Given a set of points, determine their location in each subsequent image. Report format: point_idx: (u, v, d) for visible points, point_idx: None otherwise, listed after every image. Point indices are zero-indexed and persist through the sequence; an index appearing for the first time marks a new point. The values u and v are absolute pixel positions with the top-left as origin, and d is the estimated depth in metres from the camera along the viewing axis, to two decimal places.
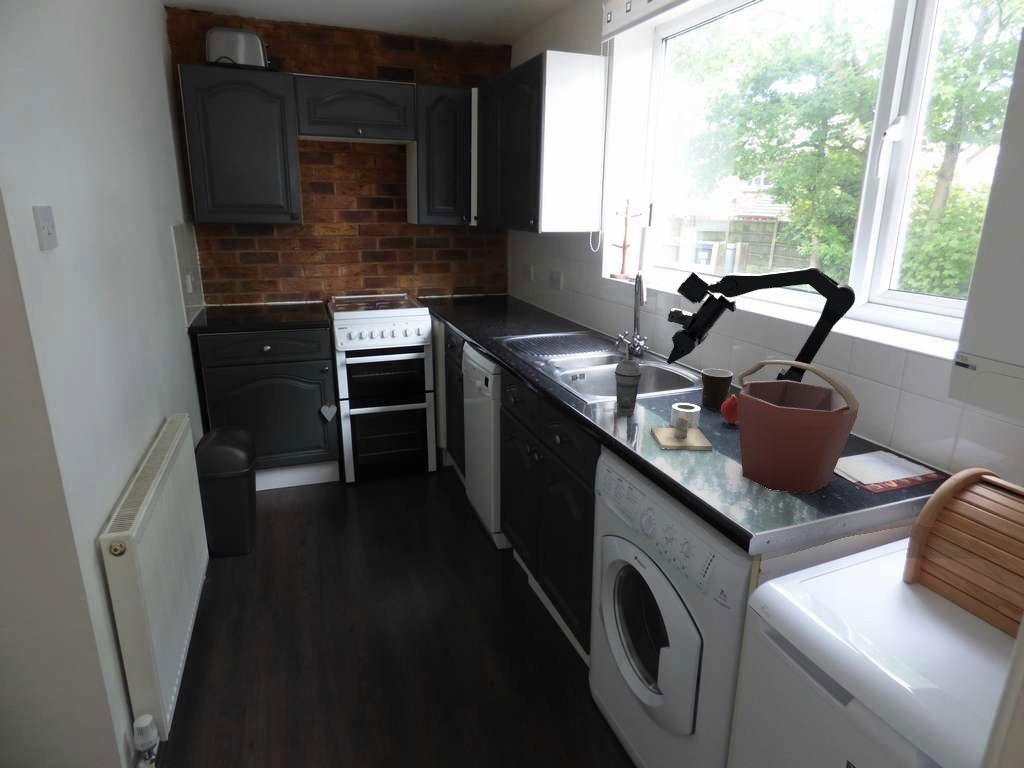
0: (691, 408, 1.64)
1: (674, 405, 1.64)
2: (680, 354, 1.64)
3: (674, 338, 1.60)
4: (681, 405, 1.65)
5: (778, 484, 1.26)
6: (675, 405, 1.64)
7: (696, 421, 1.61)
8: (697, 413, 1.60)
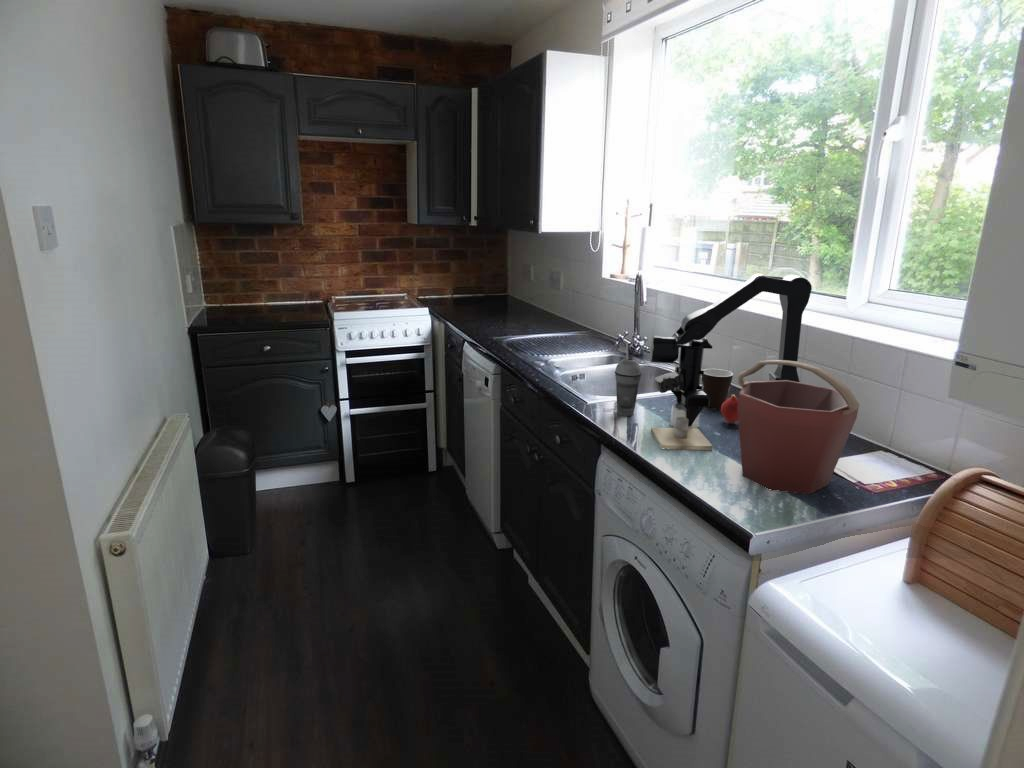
0: None
1: (674, 405, 1.64)
2: (695, 411, 1.58)
3: (688, 404, 1.53)
4: (681, 405, 1.65)
5: (778, 484, 1.26)
6: (675, 405, 1.64)
7: (696, 421, 1.61)
8: None
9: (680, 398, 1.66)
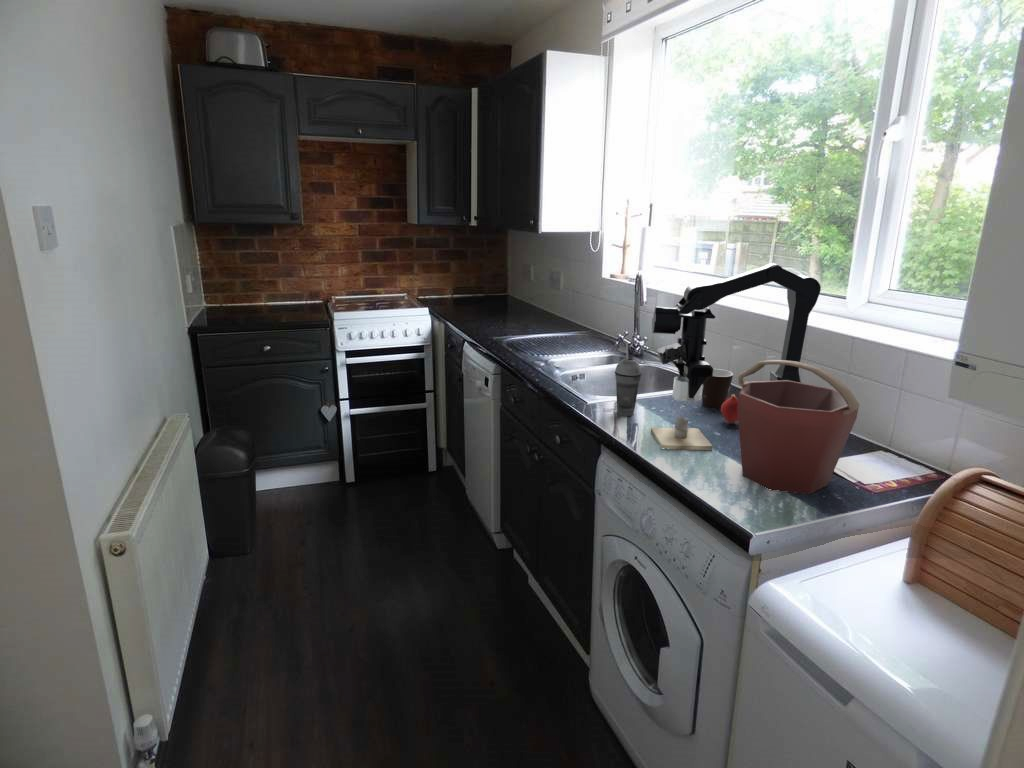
0: None
1: (676, 377, 1.62)
2: (698, 383, 1.56)
3: (690, 374, 1.51)
4: (683, 377, 1.63)
5: (778, 484, 1.26)
6: (677, 377, 1.62)
7: (699, 393, 1.59)
8: None
9: (682, 370, 1.64)
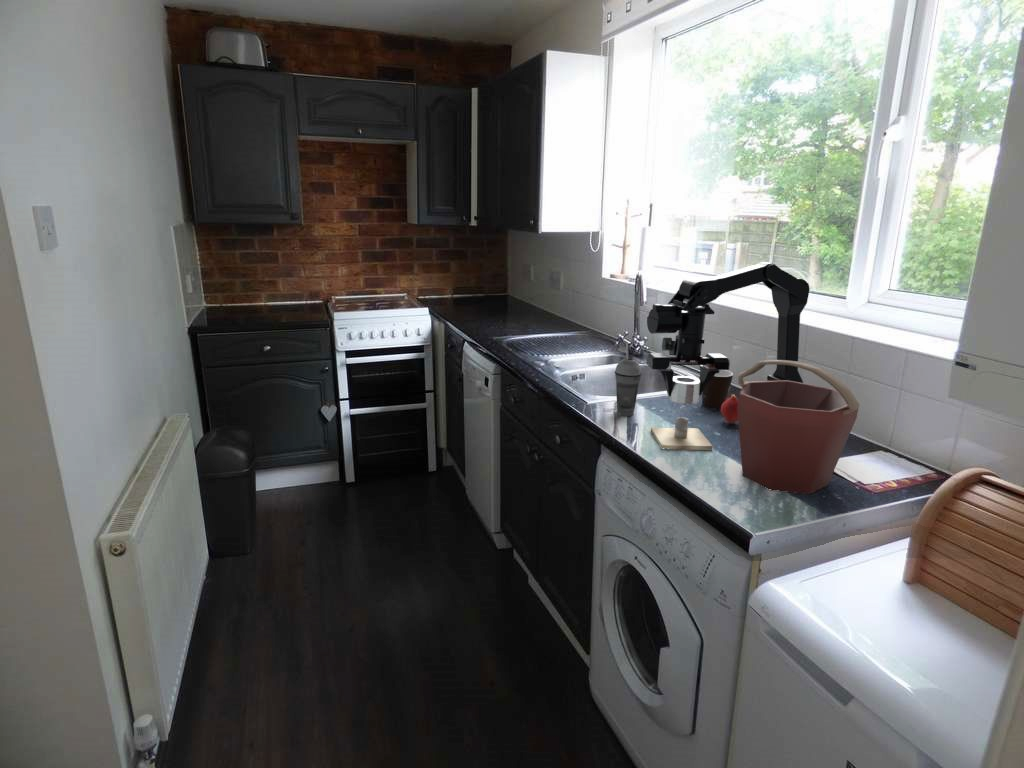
0: None
1: (686, 376, 1.53)
2: (666, 379, 1.49)
3: (646, 361, 1.51)
4: (693, 380, 1.51)
5: (778, 484, 1.26)
6: (687, 377, 1.53)
7: (676, 394, 1.49)
8: (677, 385, 1.48)
9: (701, 375, 1.51)
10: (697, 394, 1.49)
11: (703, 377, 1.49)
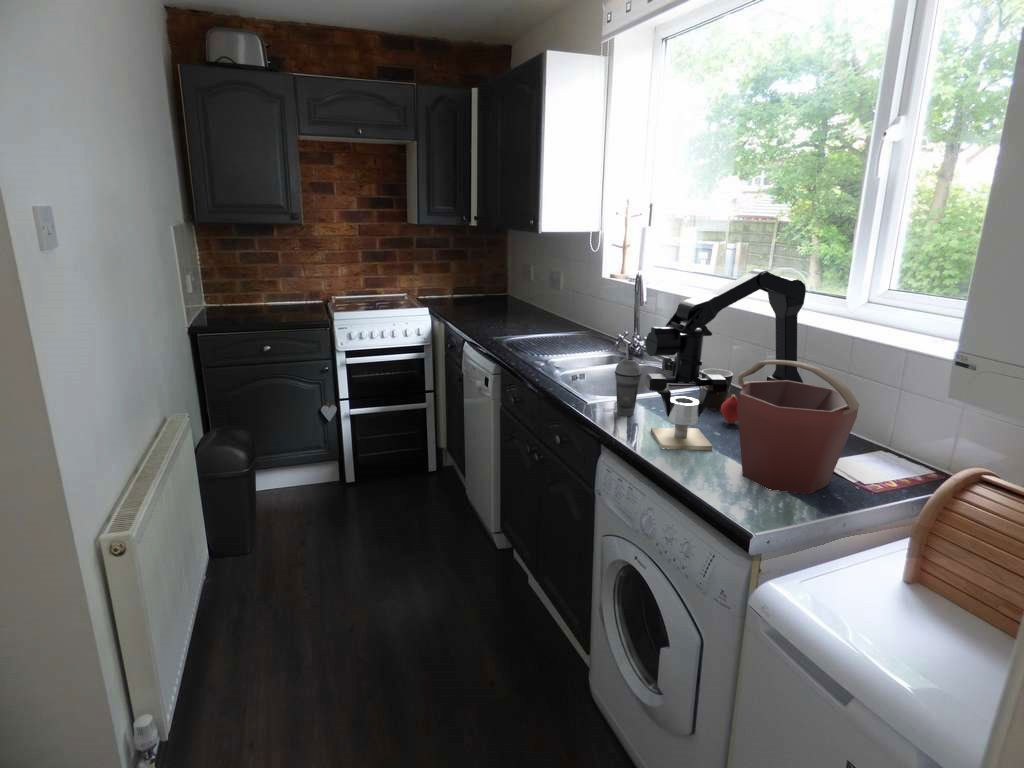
0: None
1: (686, 397, 1.53)
2: (664, 400, 1.49)
3: (645, 382, 1.52)
4: (692, 401, 1.51)
5: (778, 484, 1.26)
6: (686, 397, 1.53)
7: (674, 415, 1.49)
8: (675, 406, 1.49)
9: (700, 396, 1.51)
10: (695, 415, 1.49)
11: (702, 398, 1.49)
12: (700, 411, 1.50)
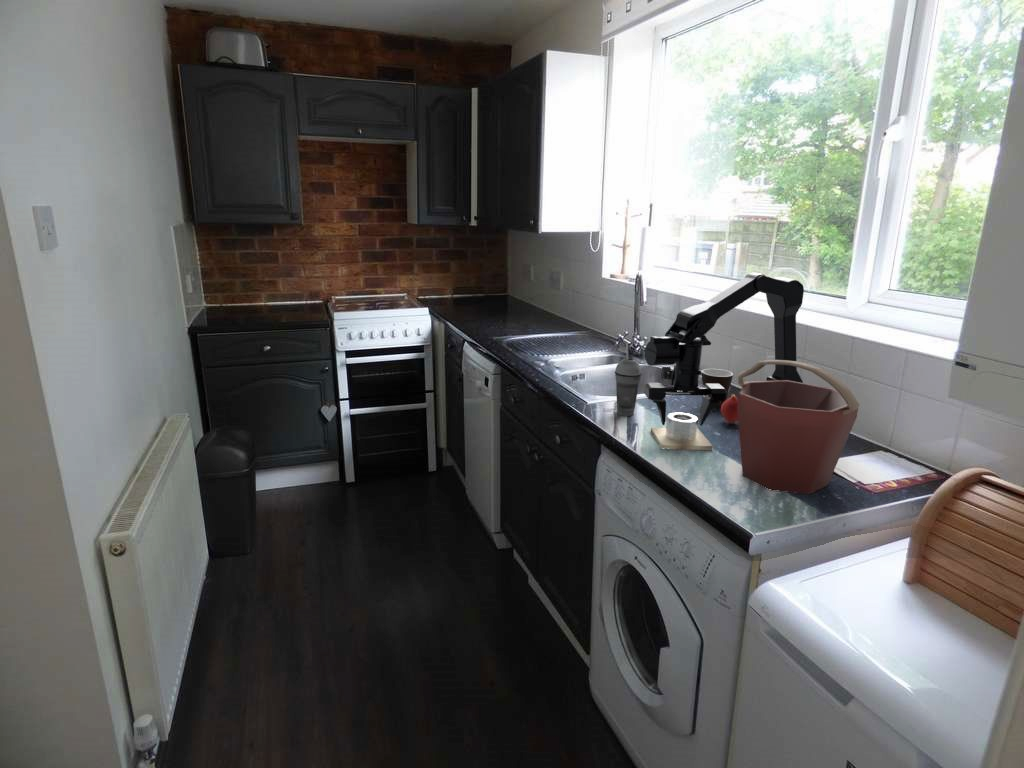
0: None
1: (684, 413, 1.54)
2: None
3: (644, 391, 1.52)
4: (690, 417, 1.53)
5: (778, 484, 1.26)
6: (685, 414, 1.54)
7: (672, 431, 1.51)
8: (673, 423, 1.50)
9: (703, 404, 1.52)
10: (694, 432, 1.50)
11: (704, 407, 1.50)
12: (703, 420, 1.51)
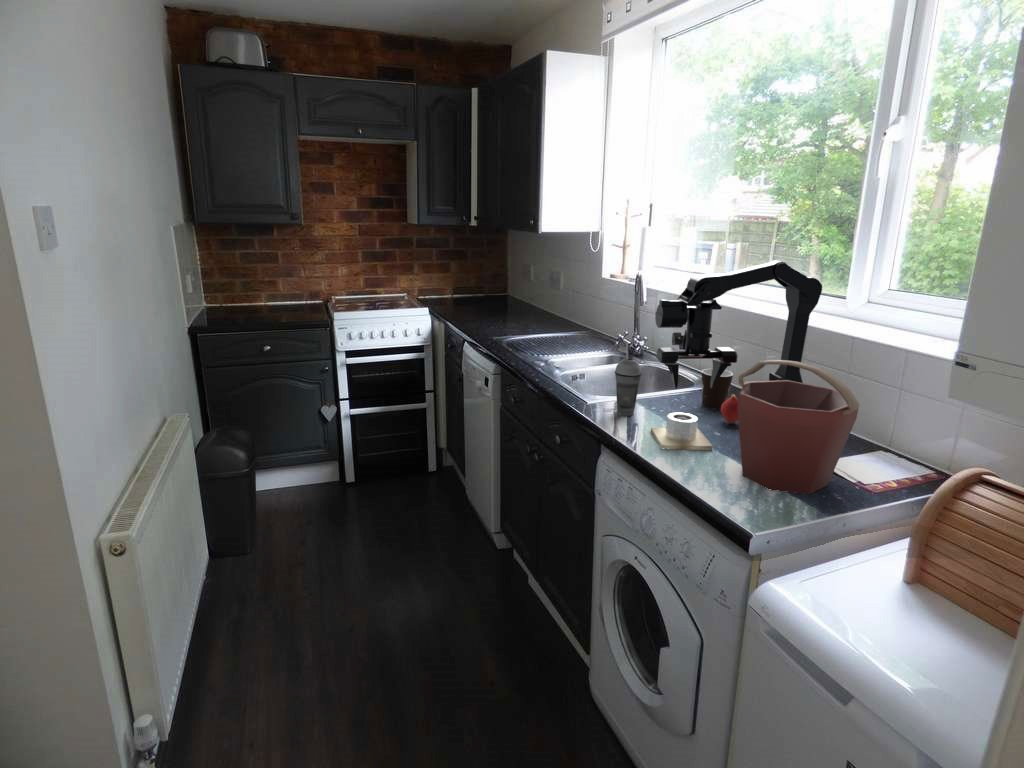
0: None
1: (684, 413, 1.54)
2: (672, 372, 1.54)
3: (656, 356, 1.56)
4: (690, 417, 1.53)
5: (778, 484, 1.26)
6: (685, 414, 1.54)
7: (672, 431, 1.51)
8: (673, 423, 1.50)
9: (713, 368, 1.56)
10: (694, 432, 1.50)
11: (715, 370, 1.54)
12: (714, 382, 1.55)
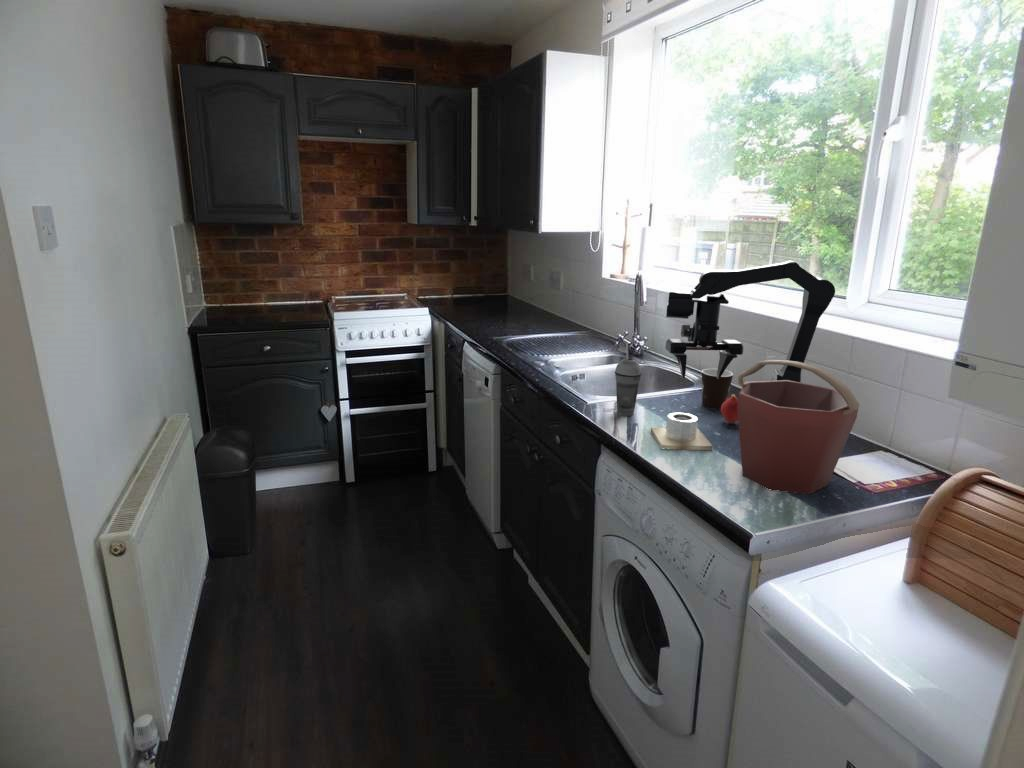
0: None
1: (684, 413, 1.54)
2: (680, 362, 1.61)
3: None
4: (690, 417, 1.53)
5: (778, 484, 1.26)
6: (685, 414, 1.54)
7: (672, 431, 1.51)
8: (673, 423, 1.50)
9: (720, 359, 1.63)
10: (694, 432, 1.50)
11: (722, 361, 1.61)
12: (720, 373, 1.62)
